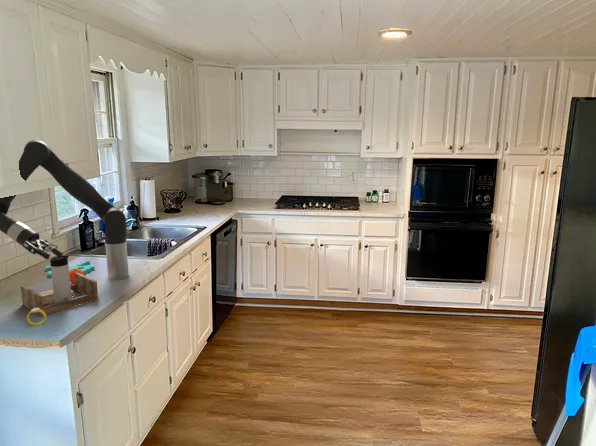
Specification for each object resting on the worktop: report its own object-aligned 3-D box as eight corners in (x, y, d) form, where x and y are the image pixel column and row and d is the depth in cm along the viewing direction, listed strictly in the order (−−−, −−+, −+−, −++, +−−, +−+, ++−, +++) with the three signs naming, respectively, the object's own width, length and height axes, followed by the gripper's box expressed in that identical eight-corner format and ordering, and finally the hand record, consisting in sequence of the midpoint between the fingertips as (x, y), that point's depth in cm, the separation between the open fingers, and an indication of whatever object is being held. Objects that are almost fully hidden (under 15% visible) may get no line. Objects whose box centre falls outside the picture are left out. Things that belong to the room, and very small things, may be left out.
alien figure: (45, 270, 219) (51, 282, 203) (45, 266, 219) (50, 277, 203) (89, 264, 231) (97, 274, 215) (88, 260, 230) (97, 270, 214)
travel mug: (71, 305, 176) (66, 258, 172) (52, 307, 175) (47, 259, 170) (74, 299, 182) (70, 253, 178) (57, 301, 180) (52, 254, 176)
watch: (27, 327, 158) (24, 312, 156) (30, 324, 160) (27, 308, 159) (45, 324, 159) (42, 309, 158) (48, 321, 162) (45, 306, 160)
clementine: (67, 281, 203) (65, 266, 202) (83, 279, 207) (82, 264, 205) (68, 286, 197) (67, 271, 195) (85, 284, 200) (84, 269, 199)
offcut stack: (37, 302, 180) (35, 293, 179) (69, 293, 189) (68, 285, 189) (41, 306, 176) (40, 296, 176) (75, 297, 186) (74, 288, 185)
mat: (21, 289, 192) (21, 288, 192) (48, 283, 201) (47, 282, 201) (31, 296, 186) (31, 295, 185) (58, 288, 194) (58, 288, 194)
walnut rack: (22, 304, 177) (20, 285, 175) (78, 289, 194) (77, 272, 192) (40, 316, 166) (38, 296, 164) (98, 299, 183) (96, 281, 181)
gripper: (15, 227, 173) (49, 250, 173) (39, 226, 187) (70, 247, 187) (6, 243, 174) (39, 266, 173) (30, 241, 188) (61, 262, 187)
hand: (55, 256), depth 180 cm, fingers open, 8 cm apart
